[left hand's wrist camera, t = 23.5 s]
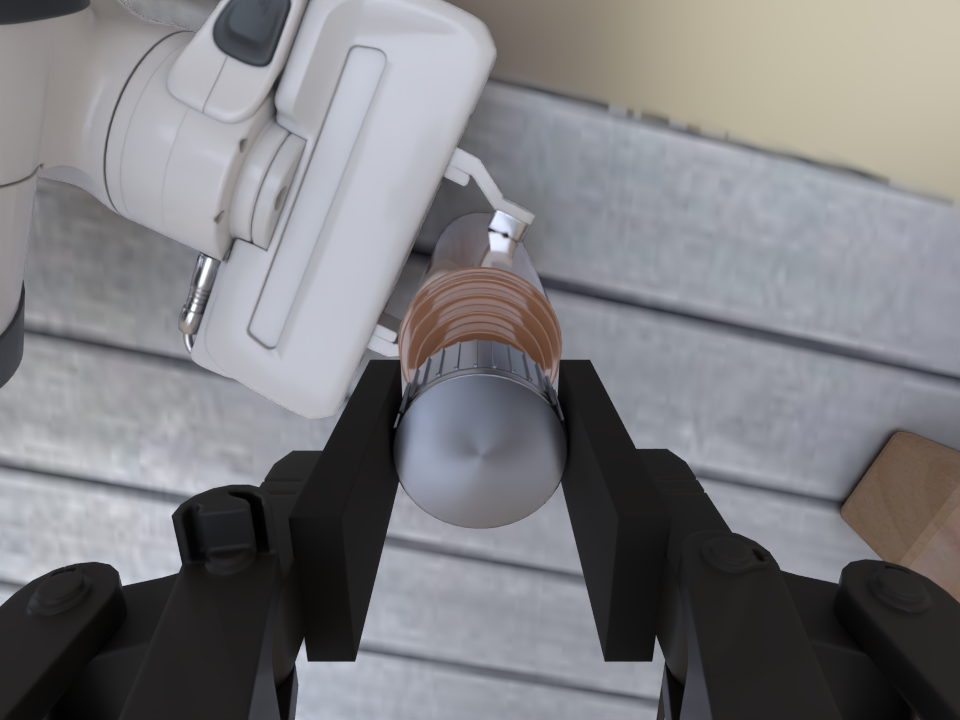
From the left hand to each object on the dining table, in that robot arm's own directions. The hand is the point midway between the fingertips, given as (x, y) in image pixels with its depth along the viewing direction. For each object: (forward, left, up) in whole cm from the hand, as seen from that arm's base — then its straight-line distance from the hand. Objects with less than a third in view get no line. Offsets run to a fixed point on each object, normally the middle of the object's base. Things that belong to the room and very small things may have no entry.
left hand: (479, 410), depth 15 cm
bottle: (0, 0, -21) cm, 21 cm away
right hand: (-1, 0, -15) cm, 15 cm away
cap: (0, 0, +2) cm, 2 cm away
